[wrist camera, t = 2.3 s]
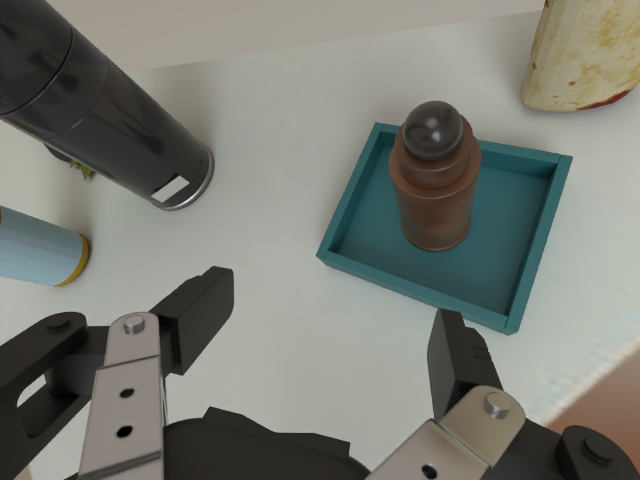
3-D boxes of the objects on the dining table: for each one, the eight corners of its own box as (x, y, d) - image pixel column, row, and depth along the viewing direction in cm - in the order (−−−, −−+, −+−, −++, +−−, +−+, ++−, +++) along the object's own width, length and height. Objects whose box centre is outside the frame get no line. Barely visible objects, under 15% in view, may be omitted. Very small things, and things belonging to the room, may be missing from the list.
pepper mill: (392, 240, 29) (356, 151, 17) (414, 185, 30) (397, 61, 18) (457, 262, 27) (473, 176, 15) (479, 201, 28) (512, 71, 16)
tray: (326, 265, 31) (315, 255, 29) (380, 141, 34) (375, 121, 31) (509, 335, 25) (517, 332, 22) (560, 176, 27) (573, 156, 25)
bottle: (98, 232, 43) (-58, 174, 29) (83, 287, 40) (-94, 250, 27) (59, 236, 45) (-103, 183, 31) (43, 288, 43) (-139, 254, 29)
